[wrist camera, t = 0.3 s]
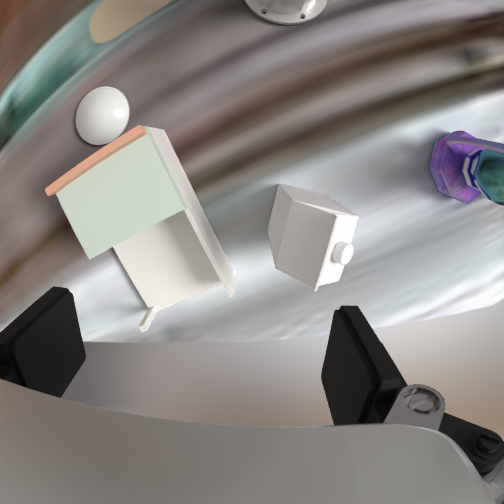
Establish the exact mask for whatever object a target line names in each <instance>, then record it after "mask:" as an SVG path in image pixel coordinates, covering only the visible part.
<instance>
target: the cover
mask: <svg viewBox="0 0 504 504" xmlns="http://www.w3.org/2000/svg"><path fill="white" fill-rule="evenodd" d="M45 191H46V193H47V196H50V195H53V194H56V195H57V197H58V199H59V202H60V204H61V206H62V208H63V210H64V212H65V214H66V216H67V218H68V220H69V222H70V224H71V226H72V228H73V230H74V232H75V234H76V236H77V238H78V240H79V242H80V243H81V245H82V247H83V249H84V251H85V253H86V254H87V256H88V258H89V260H90V259H92V258H93V257H95V256H97V255H99V254H100V253H102V252H104V251H106V250H108V249H110V248H111V247H113V246H115V245H117V244H119V243H120V242H122V241H124V240H126V239H128V238H130V237H132V236H134V235H135V234H137V233H139V232H141V231H143V230H145V229H147V228H149V227H151V226H153V225H154V224H156V223H158V222H160V221H162V220H164V219H166V218H168V217H170V216H172V215H174V214H176V213H178V212H180V211H182V210H184V209H185V208H187V206H186V204H185V202H184V200H183V198H182V196H181V194H180V192H179V190H178V188H177V186H176V184H175V182H174V180H173V178H172V176H171V174H170V172H169V170H168V168H167V165H166V163H165V161H164V159H163V157H162V155H161V153H160V151H159V149H158V147H157V145H156V143H155V141H154V138H153V136H152V134H151V132H150V130H149V128H148V127H146V126H140V125H138V126H137V127H135V128H133V129H132V130H130V131H128V132H127V133H125V134H123V135H122V136H120V137H118V138H117V139H115V140H114V141H112V142H111V143H109V144H107V145H106V146H104V147H103V148H101V149H100V150H98V151H97V152H95V153H94V154H92V155H91V156H89V157H88V158H87V159H85V160H84V161H82V162H81V163H79V164H78V165H77V166H75V167H74V168H72V169H71V170H70V171H68V172H67V173H66V174H64V175H63V176H61V177H60V178H59V179H58V180H56V181H55V182H54V183H52V184H51V185H50V186H48V187H47V188H46V189H45Z"/></svg>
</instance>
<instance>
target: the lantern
mask: <svg viewBox="0 0 504 504" xmlns="http://www.w3.org/2000/svg"><path fill="white" fill-rule="evenodd" d="M485 148H486V149H485ZM429 168H430V171H431V173H432V176H433V178H434V181H435V183H436V186H437V188H438V191H439V192H441V193H443V194H445V195H447V196H450V197H452V198H454V199H456V200H459V201H461V202H464V203H467V204H468V203H470V202H471V201H472V200H474V199H475V198H477V197H478V196H479V195H481V194H482V195H483V196H484V197H485V198H487V199H489V200H491V201H493V202H495V203H497V204H499V205H504V144H502V143H498V142H492V141H487V140H482V139H477V138H475V137H473V136H472V135H470V134H468V133H466V132H465V131H455V132H452V133H450V134H448V135H447V136H445V137H443V138H442V139H440V140H438V141H437V142H435V145H434V149H433V153H432V158H431V162H430V166H429Z"/></svg>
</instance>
